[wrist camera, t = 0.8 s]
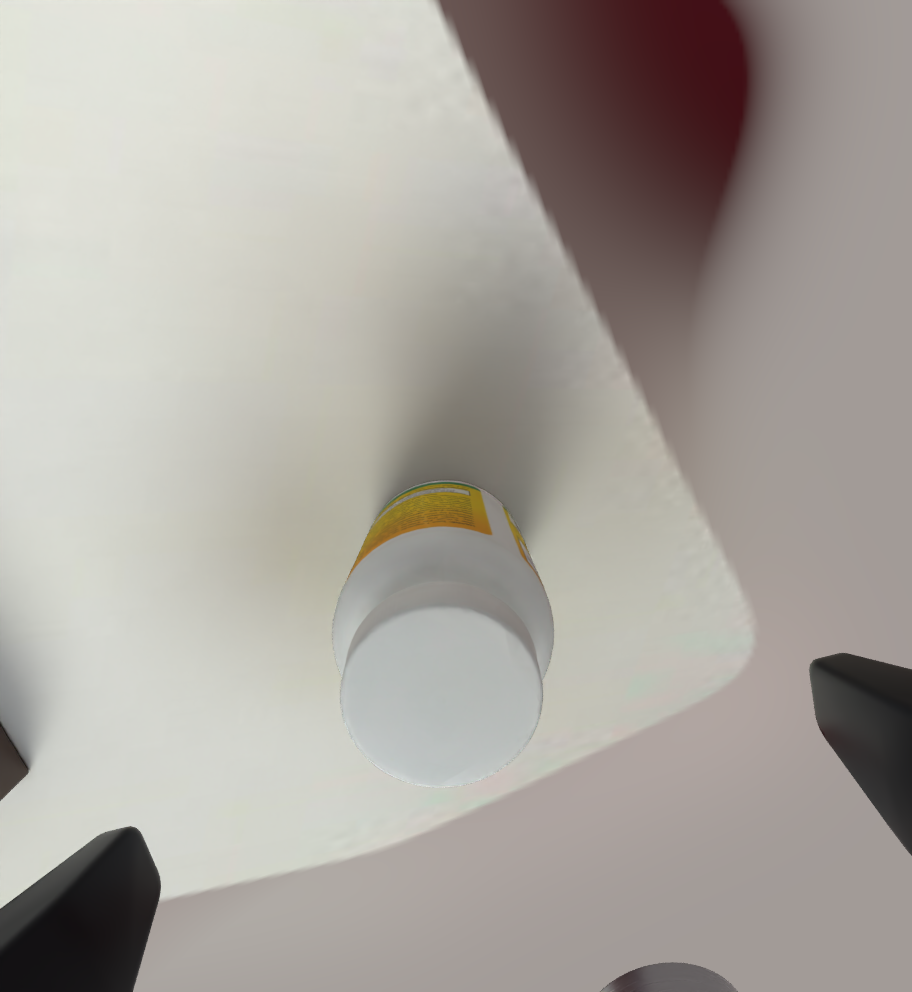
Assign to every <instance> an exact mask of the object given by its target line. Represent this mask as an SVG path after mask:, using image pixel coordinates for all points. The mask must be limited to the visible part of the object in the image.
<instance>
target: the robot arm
mask: <svg viewBox="0 0 912 992" xmlns="http://www.w3.org/2000/svg"><path fill="white" fill-rule="evenodd" d="M809 671H810V680H811V687H812V694H813V701H814V708H815V715H816V720H817V723H818V726H819V728H820V730H821V732H822V734H823V735H824V737H825V739H826V740H827V741H828V743H829V744H830V746H831V747H832V748H833V749H834V751H835V752H836V754H837V755H838V757H839V758H840V759H841V761H842V762H843V763H844V765H845V766H846V768H847V769H848V770H849V772H850V773H851V775H852V776H853V777H854V779H855V780H856V781H857V783H858V784H859V786H860V787H861V788H862V790H863V791H864V793H865V794H866V795H867V797H868V798H869V799H870V801H871V802H872V804H873V805H874V806H875V808H876V809H877V810H878V812H879V813H880V815H881V816H882V817H883V819H884V820H885V822H886V823H887V824H888V826H889V827H890V828H891V830H892V831H893V832H894V834H895V835H896V836H897V838H898V839H899V840H900V842H901V843H902V844H903V846H904V847H905V848H906V849H907V851H908V852H909V853H910V854H911V855H912V669H908V668H904V667H899V666H895V665H892V664H888V663H884V662H879V661H876V660H872V659H867V658H863V657H859V656H855V655H851V654H847V653H839V654H835V655H831V656H827V657H822V658H818V659H815V660H813V662H812V663H811V664H810V670H809ZM160 891H161V881H160V876H159V873H158V870H157V868H156V866H155V863H154V861H153V859H152V857H151V854H150V852H149V850H148V847H147V845H146V843H145V840H144V838H143V836H142V834H141V832H140V831H139V830H138V829H137V828H135V827H131V826H129V827H125V828H120V829H116V830H112V831H108V832H105V833H102V834H100V835H99V836H97V837H96V838H94V839H93V840H92V841H90V842H89V843H88V844H86V845H85V846H84V847H82V848H81V849H80V850H78V851H77V852H76V853H74V854H73V855H72V856H70V857H69V858H68V859H66V860H65V861H64V862H62V863H61V864H60V865H58V866H57V867H56V868H54V869H53V870H52V871H50V872H49V873H48V874H46V875H45V876H44V877H42V878H41V879H40V880H38V881H37V882H36V883H34V884H33V885H32V886H30V887H29V888H28V889H26V890H25V891H24V892H22V893H21V894H20V895H18V896H17V897H16V898H14V899H13V900H12V901H10V902H9V903H8V904H6V905H5V906H4V907H2V908H1V909H0V992H133V989H134V985H135V982H136V978H137V975H138V971H139V968H140V964H141V961H142V957H143V954H144V950H145V947H146V943H147V940H148V936H149V933H150V929H151V926H152V922H153V919H154V915H155V912H156V908H157V905H158V901H159V897H160Z"/></svg>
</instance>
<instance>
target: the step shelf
mask: <svg viewBox="0 0 912 992" xmlns="http://www.w3.org/2000/svg"><path fill="white" fill-rule="evenodd" d="M27 774H28V770H27V768H26V766H25V765H24V763H23V761H22V760H21V758H20V757H19V755H18V753H17V752H16V750H15V748H14V747H13V745H12V743H11V742H10V740H9V739H8V737H7V735H6V734H5V732H4V730H3V729H2V727H1V726H0V801H1V800H2V799H3V798H4V797H5V796H6V795H7V794H8V793H9V792H10V791H11V790H12V789H13V788H14V787H15V786H16V785H17V784H18V783H19V782H20V781H21V780H22V779H23V778H24V777H25V776H26V775H27Z"/></svg>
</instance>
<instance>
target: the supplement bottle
mask: <svg viewBox="0 0 912 992" xmlns="http://www.w3.org/2000/svg"><path fill="white" fill-rule="evenodd" d="M332 640H333V650H334V655H335V659H336V663H337V667H338V669H339V672H340V674H341V676H342V680H341V690H340V704H341V710H342V716H343V720H344V722H345V725H346V728H347V730H348V732H349V734H350V737H351V739H352V740H353V742H354V743H355V745H356V746H357V748H358V749H359V750H360V751H361V753H362V754H363V755H364V756H365V757H366V758H367V759H368V760H369V761H370V762H371V763H372V764H374V765H375V766H376V767H377V768H379V769H380V770H382V771H383V772H385V773H387V774H388V775H390V776H392V777H394V778H397V779H399V780H401V781H404V782H407V783H410V784H413V785H418V786H424V787H458V786H463V785H468V784H471V783H474V782H477V781H480V780H482V779H485V778H487V777H489V776H491V775H492V774H494V773H496V772H498V771H499V770H501V769H502V768H503V767H505V766H506V765H508V764H509V763H510V762H511V761H512V760H513V759H514V758H515V757H516V756H517V755H518V754H519V753H520V752H521V751H522V750H523V749H524V747H525V746H526V745H527V743H528V742H529V740H530V739H531V737H532V735H533V733H534V731H535V729H536V727H537V724H538V721H539V717H540V714H541V708H542V701H543V684H542V680H543V678H544V676H545V674H546V671H547V669H548V666H549V663H550V659H551V654H552V649H553V642H554V625H553V617H552V611H551V606H550V603H549V600H548V597H547V594H546V592H545V589H544V586H543V584H542V582H541V579H540V577H539V575H538V572H537V570H536V568H535V565H534V563H533V561H532V559H531V557H530V554H529V552H528V549H527V547H526V544H525V542H524V540H523V538H522V535H521V533H520V531H519V529H518V527H517V525H516V523H515V521H514V519H513V517H512V516H511V514H510V513H509V511H508V510H507V509H506V508H505V506H504V505H503V504H502V503H501V502H500V501H499V500H498V499H496V498H495V497H494V496H493V495H491V494H490V493H488V492H486V491H485V490H483V489H481V488H479V487H477V486H474V485H472V484H469V483H465V482H461V481H452V480H442V481H431V482H426V483H422V484H418V485H415V486H413V487H411V488H408V489H406V490H404V491H403V492H401V493H400V494H398V495H396V496H395V497H394V498H393V499H392V500H391V501H389V502H388V503H387V504H386V505H385V507H384V508H383V509H382V510H381V512H380V513H379V514H378V516H377V517H376V519H375V521H374V523H373V525H372V526H371V528H370V530H369V533H368V534H367V537H366V539H365V541H364V543H363V546H362V548H361V550H360V552H359V554H358V556H357V559H356V561H355V563H354V565H353V567H352V569H351V571H350V574H349V576H348V578H347V580H346V582H345V584H344V586H343V589H342V591H341V593H340V596H339V598H338V602H337V605H336V609H335V613H334V619H333V630H332Z"/></svg>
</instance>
